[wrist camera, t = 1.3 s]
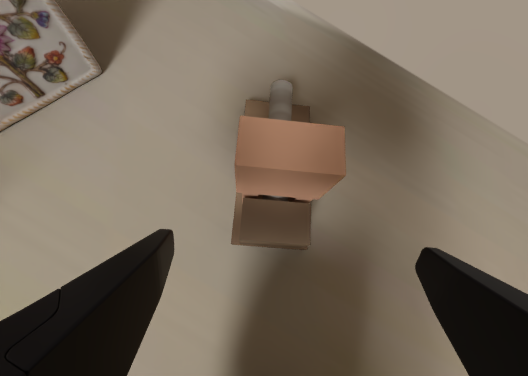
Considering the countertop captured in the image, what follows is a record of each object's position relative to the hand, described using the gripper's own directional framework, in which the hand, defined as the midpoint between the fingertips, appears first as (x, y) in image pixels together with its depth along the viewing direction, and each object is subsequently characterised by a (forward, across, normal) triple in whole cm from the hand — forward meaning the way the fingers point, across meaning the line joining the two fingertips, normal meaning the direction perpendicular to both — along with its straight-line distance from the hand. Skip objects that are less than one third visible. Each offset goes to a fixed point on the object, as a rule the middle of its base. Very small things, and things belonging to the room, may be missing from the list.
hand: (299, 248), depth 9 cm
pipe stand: (+15, 0, +3) cm, 16 cm away
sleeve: (+13, 0, +4) cm, 13 cm away
